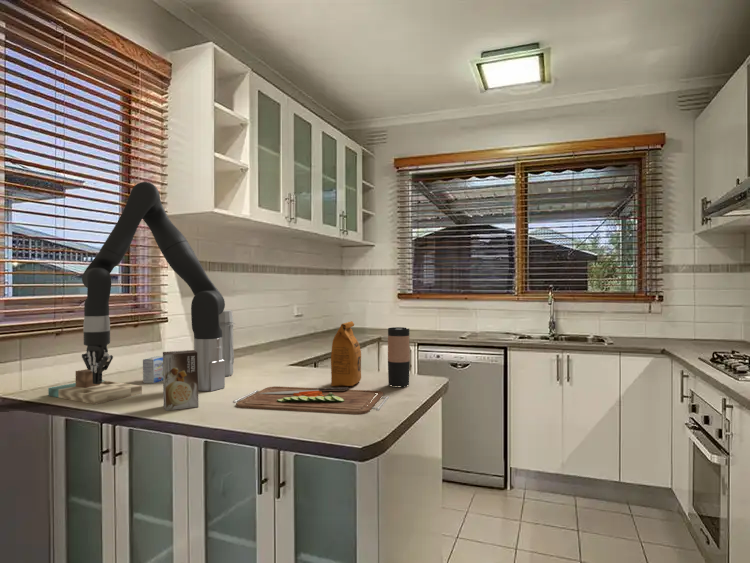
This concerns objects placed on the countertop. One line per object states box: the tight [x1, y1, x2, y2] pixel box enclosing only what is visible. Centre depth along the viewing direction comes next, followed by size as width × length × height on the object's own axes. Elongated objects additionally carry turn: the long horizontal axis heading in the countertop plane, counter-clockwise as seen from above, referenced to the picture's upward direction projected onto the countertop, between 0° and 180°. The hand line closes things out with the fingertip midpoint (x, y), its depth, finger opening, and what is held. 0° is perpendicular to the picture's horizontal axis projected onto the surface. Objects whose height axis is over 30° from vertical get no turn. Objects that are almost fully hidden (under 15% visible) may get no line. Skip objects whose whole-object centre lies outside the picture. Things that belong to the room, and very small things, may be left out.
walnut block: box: [75, 368, 100, 388], centre depth 167 cm, size 5×5×5 cm
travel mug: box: [387, 326, 411, 386], centre depth 179 cm, size 8×8×20 cm
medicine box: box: [142, 355, 163, 384], centre depth 187 cm, size 8×4×9 cm, turn 168°
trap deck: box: [47, 379, 143, 405], centre depth 165 cm, size 24×16×2 cm, turn 62°
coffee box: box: [162, 349, 200, 412], centre depth 149 cm, size 9×6×16 cm
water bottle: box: [219, 309, 236, 378], centre depth 198 cm, size 9×8×25 cm
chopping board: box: [232, 385, 390, 415], centre depth 157 cm, size 45×27×3 cm, turn 78°
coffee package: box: [330, 320, 362, 387], centre depth 181 cm, size 10×12×22 cm
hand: (97, 383), depth 164 cm, fingers closed
